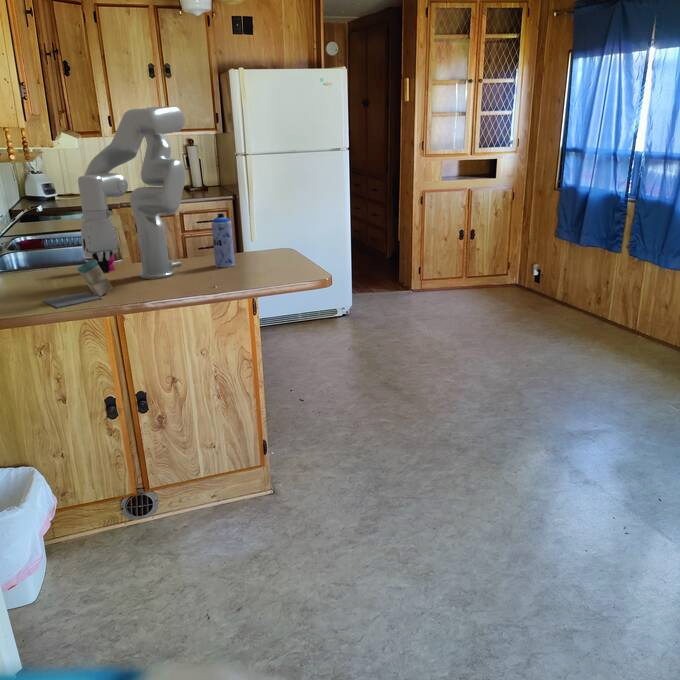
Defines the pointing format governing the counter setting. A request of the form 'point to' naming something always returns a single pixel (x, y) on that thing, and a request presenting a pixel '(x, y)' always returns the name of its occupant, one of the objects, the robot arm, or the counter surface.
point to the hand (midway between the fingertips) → (104, 272)
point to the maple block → (95, 278)
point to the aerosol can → (223, 241)
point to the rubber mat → (71, 299)
